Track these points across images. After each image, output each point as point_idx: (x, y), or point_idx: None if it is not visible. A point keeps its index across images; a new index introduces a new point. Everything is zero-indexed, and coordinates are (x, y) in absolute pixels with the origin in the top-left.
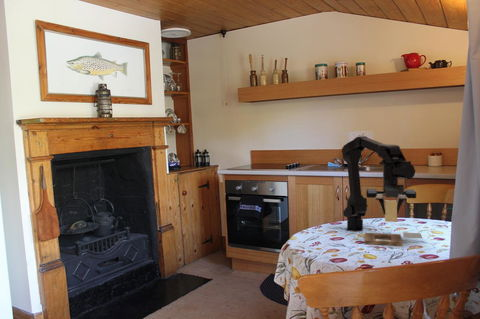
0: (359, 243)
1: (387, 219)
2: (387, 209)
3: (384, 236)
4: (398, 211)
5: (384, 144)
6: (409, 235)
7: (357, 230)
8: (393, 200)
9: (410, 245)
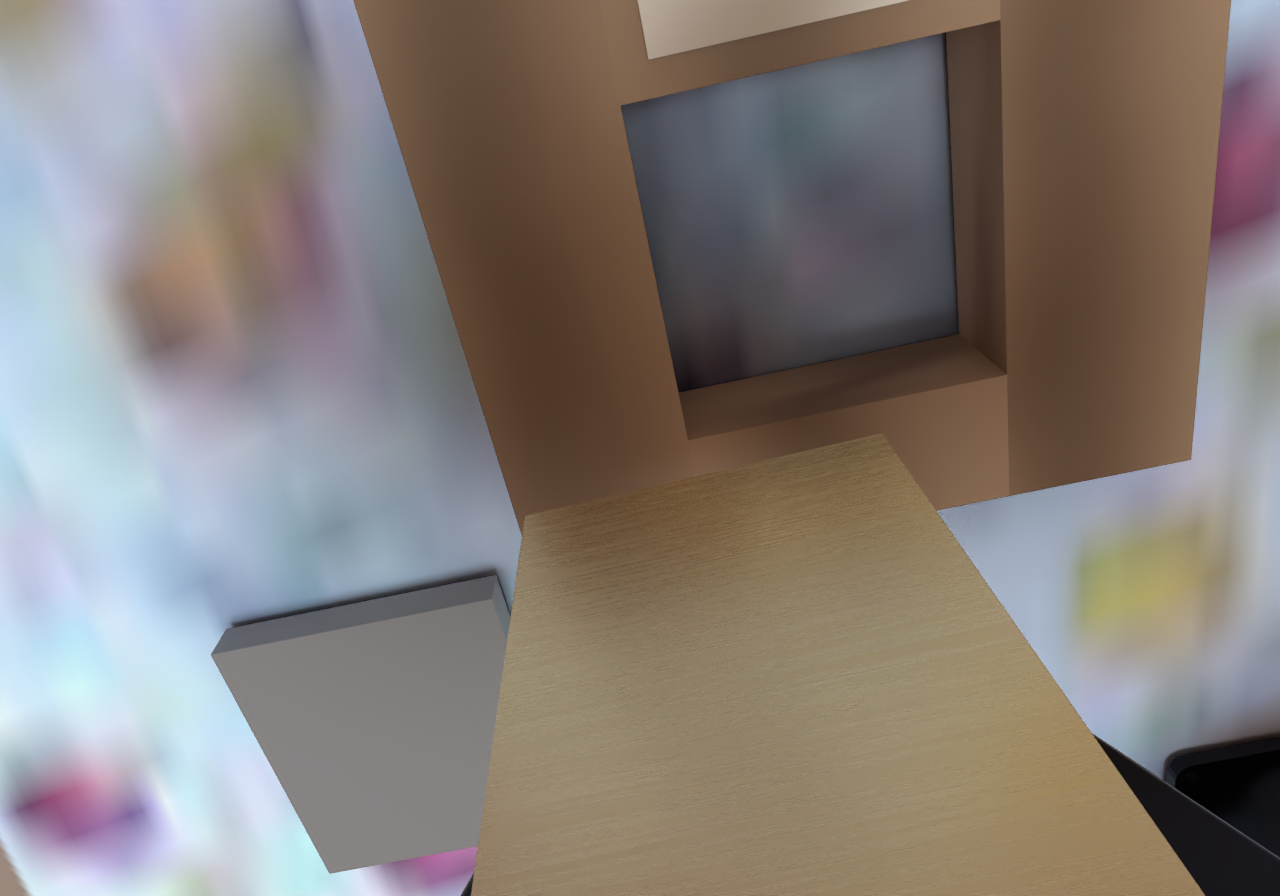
0: (1238, 67)
1: (832, 480)
2: (978, 769)
3: (806, 404)
4: (463, 892)
5: None
6: (442, 723)
7: (1235, 751)
8: None
9: (325, 323)
